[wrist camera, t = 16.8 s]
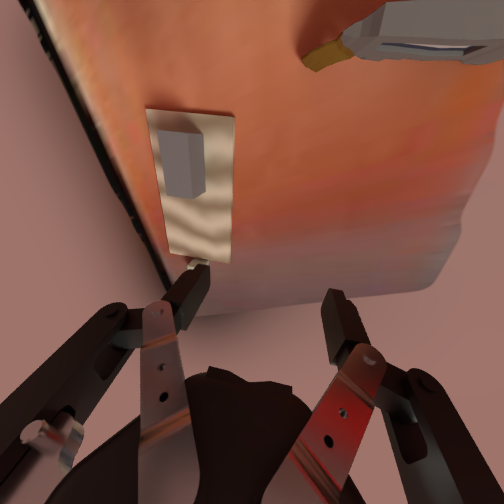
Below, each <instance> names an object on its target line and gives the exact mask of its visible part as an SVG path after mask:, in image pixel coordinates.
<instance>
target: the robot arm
mask: <svg viewBox="0 0 504 504" xmlns="http://www.w3.org/2000/svg"><path fill="white" fill-rule="evenodd" d="M209 288H210V266H209V265H206V264H200V263H198V264H197V265H196V266H195V268H194V269H193V270H192V269H188V270H187V271H185V272H184V273H182V274H181V276H180V277H179V278H178V279H177V281H176V282H175V284H173V285H172V287H171V288H170V289H169V290H168V292H167V293H166V294H165V295H164V296H163V298H162V299H161V300H159V301H155V302H152V303H150V304H149V305H147V306H146V307H145V308H141V309H128V308H127V306H126V304H124V303H121V302H116V303H111V304H108V305H106V306H105V307H103V308H101V309H100V310H99V311H98V312H97V313H95V314H94V315H93V316H92V317H91V318H90V319H89V320H88V321H87V322H86V323H85V324H84V325H83V326H82V327H81V328H80V329H79V330H78V331H77V332H76V333H75V334H74V335H72V336H71V337H70V338H69V339H68V340H67V341H66V342H65V343H64V344H63V345H62V346H61V347H60V348H59V349H58V350H57V351H56V352H55V353H53V354H52V356H51V357H49V358H48V359H47V360H46V361H45V362H44V363H43V364H42V365H41V366H40V367H39V368H38V369H37V370H36V371H35V372H34V373H33V374H32V375H30V376H29V377H28V378H27V379H26V380H25V381H24V382H23V383H22V384H21V385H20V386H19V387H18V388H17V389H16V390H15V391H14V392H13V393H11V394H10V395H9V396H8V398H6V399H5V400H4V401H3V402H2V403H1V404H0V504H366V503H365V501H364V500H363V498H362V496H361V494H360V493H359V491H358V489H357V487H356V486H355V484H354V482H353V481H352V479H351V477H350V475H349V474H348V473H349V471H350V468H351V466H352V463H353V461H354V458H355V456H356V453H357V451H358V448H359V445H360V443H361V440H362V438H363V435H364V433H365V431H366V428H367V425H368V423H369V420H370V418H371V415H372V413H373V410H374V407H375V406H376V407H378V408H380V409H381V412H382V415H383V418H384V422H385V426H386V429H387V432H388V436H389V439H390V442H391V446H392V449H393V453H394V456H395V460H396V463H397V467H398V470H399V473H400V477H401V481H402V484H403V487H404V491H405V494H406V498H407V501H408V504H504V493H503V491H502V489H501V487H500V485H499V484H498V482H497V480H496V478H495V477H494V475H493V473H492V472H491V470H490V468H489V466H488V465H487V463H486V461H485V459H484V458H483V456H482V454H481V452H480V451H479V449H478V447H477V446H476V444H475V442H474V440H473V439H472V437H471V435H470V433H469V431H468V430H467V428H466V426H465V424H464V423H463V421H462V419H461V417H460V416H459V414H458V412H457V410H456V409H455V407H454V405H453V404H452V402H451V400H450V398H449V397H448V395H447V393H446V392H445V390H444V388H443V387H442V385H441V384H440V383H439V382H438V381H437V380H436V379H435V378H434V377H432V376H431V375H430V374H428V373H427V372H425V371H423V370H420V369H417V368H412V369H410V370H409V371H407V372H405V371H403V370H402V369H399V368H397V367H395V366H393V365H391V364H389V363H387V362H386V360H385V358H384V357H383V355H382V354H381V353H380V352H379V351H378V350H377V349H376V348H374V347H373V346H371V344H370V341H369V338H368V336H367V333H366V331H365V328H364V326H363V323H362V322H361V318H360V316H359V313H358V311H357V308H356V307H355V305H354V304H353V303H352V302H351V301H350V300H346V298H345V295H344V292H343V291H342V290H337V289H332V288H329V289H328V292H327V294H326V296H325V299H324V301H323V303H322V306H321V316H322V322H323V328H324V333H325V339H326V344H327V351H328V356H329V362H330V364H331V365H335V366H337V367H338V373H337V374H336V376H335V377H334V379H333V380H332V382H331V383H330V385H329V387H328V388H327V390H326V391H325V393H324V395H323V396H322V398H321V399H320V401H319V402H318V404H317V405H316V407H315V408H314V410H313V411H311V410H310V409H309V407H308V406H307V405H306V404H305V403H304V402H303V401H302V400H301V399H299V398H298V397H297V396H295V395H293V394H292V386H288V385H284V384H280V383H276V382H272V381H266V382H247V381H245V380H244V379H242V378H240V377H238V376H237V375H235V374H233V373H232V372H230V371H227V370H223V369H219V368H215V367H211V366H209V368H208V371H207V372H205V373H200V374H196V375H193V376H191V377H189V378H187V379H185V376H184V371H183V366H182V360H181V355H180V349H179V344H178V339H177V334H178V332H179V331H180V329H181V330H185V331H186V330H187V329H188V327H189V325H190V323H191V321H192V319H193V318H194V316H195V314H196V312H197V310H198V309H199V307H200V305H201V303H202V301H203V300H204V298H205V296H206V294H207V292H208V290H209ZM135 348H140V395H141V396H140V405H141V406H140V411H141V412H140V413H141V414H140V415H139V416H137V417H136V418H135V419H134V420H132V421H131V422H130V423H128V424H127V425H126V426H125V427H123V428H122V429H121V430H120V431H118V432H117V433H116V434H114V435H113V436H112V437H111V438H109V439H108V440H107V441H106V442H104V443H103V444H102V445H101V446H99V447H98V448H97V449H95V450H94V451H93V452H92V453H90V454H89V455H88V456H87V457H85V458H84V459H83V460H82V461H80V462H79V463H78V464H77V465H76V466H74V467H73V468H72V465H73V461H74V458H75V456H76V454H77V452H78V449H79V448H80V446H81V444H82V441H83V438H84V428H83V424H84V423H85V421H86V420H87V418H88V417H89V415H90V414H91V413H92V411H93V409H94V408H95V407H96V405H97V404H98V402H99V401H100V399H101V398H102V396H103V395H104V393H105V392H106V391H107V389H108V388H109V386H110V385H111V383H112V382H113V380H114V379H115V377H116V376H117V374H118V373H119V371H120V370H121V369H122V367H123V366H124V364H125V363H126V361H127V360H128V358H129V357H130V355H131V354H132V352H133V351H134V350H135Z"/></svg>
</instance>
